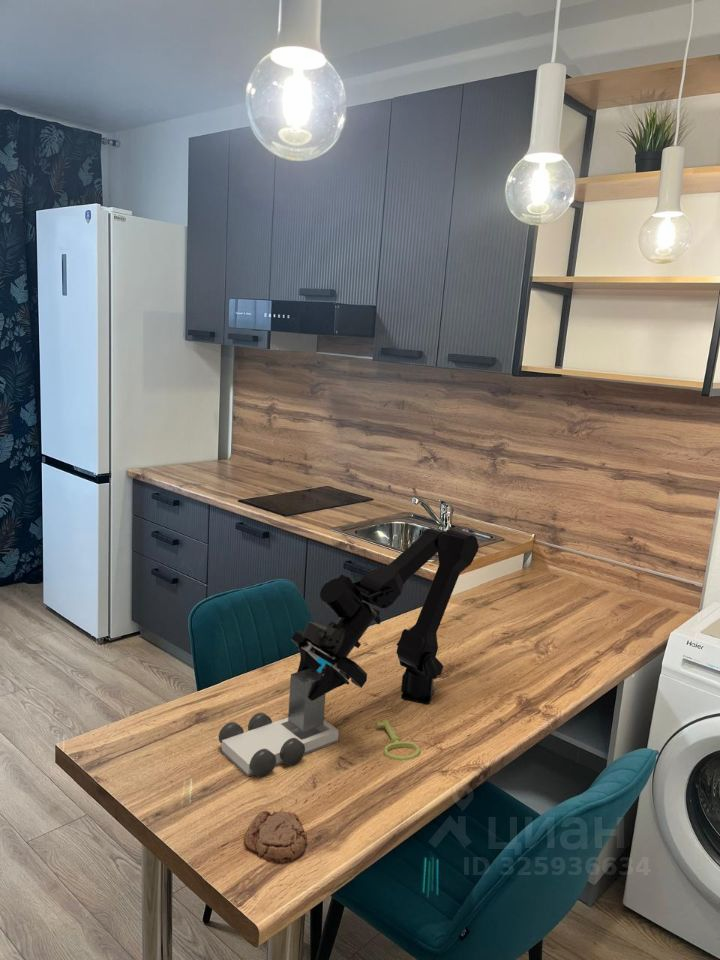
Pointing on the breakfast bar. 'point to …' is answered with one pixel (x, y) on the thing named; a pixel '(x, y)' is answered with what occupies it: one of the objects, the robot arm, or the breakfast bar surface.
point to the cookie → (276, 836)
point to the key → (397, 743)
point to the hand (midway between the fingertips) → (302, 693)
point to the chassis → (271, 743)
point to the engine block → (305, 701)
